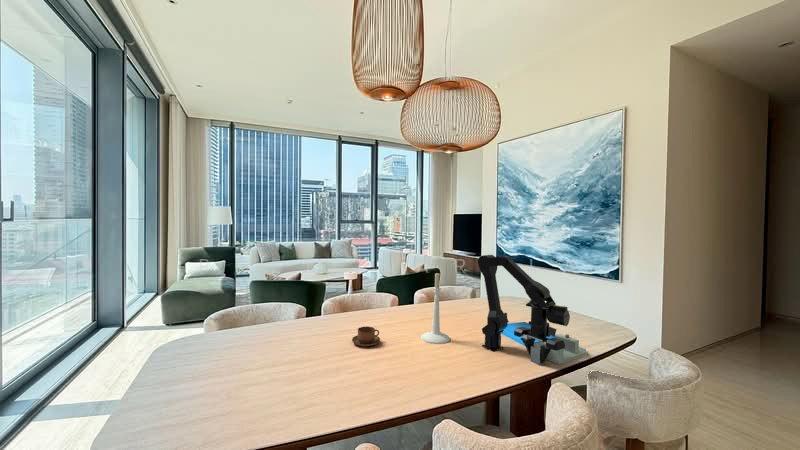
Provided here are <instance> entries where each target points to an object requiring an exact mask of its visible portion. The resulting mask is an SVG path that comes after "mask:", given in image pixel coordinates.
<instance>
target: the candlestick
mask: <svg viewBox="0 0 800 450" xmlns="http://www.w3.org/2000/svg"><path fill="white" fill-rule="evenodd" d="M440 275H441V274H440V273H438V272H437V273H434V287H433V293H434V296H433V297H434V298H433V299H434V300H433V310H432V311H433V313H432V324H431V331H427V332H425V333H423V334H422V335H421V336H420V338H421V340H422V341H423V342H425V343H427V344H428V343H429V344H433V345H442V344H443V345H444V344H447V343H449V342H450V339H451V338H450V336H449V335H448V334H447V333H444V332H442V331H440V330H441V328H440V322H441V321H440V296H439V295H440V293H441V290H442V288H440Z"/></svg>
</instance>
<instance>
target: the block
mask: <svg viewBox="0 0 800 450" xmlns="http://www.w3.org/2000/svg"><path fill="white" fill-rule="evenodd" d="M529 361H530V363H533V364H535V365H538V366H543V365H545V363H546V361H545V362H544V363H542V359H541V348H540V346H538V345H533V346H531V357H530V360H529Z"/></svg>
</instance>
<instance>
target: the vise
mask: <svg viewBox="0 0 800 450" xmlns="http://www.w3.org/2000/svg"><path fill="white" fill-rule="evenodd" d="M543 345H544V342H541V341H539V346H543ZM588 354H589V351H588V350H587V349H586V347H582V346H579V352H578V353H572V352H570V351H567V350H564V349H560V350H557V351H555V350H552V349H551V350H550V352H549V354H548V356H547V358H546V360H547V361H549V362H552V363H555V364H557V365H561V364H563V363H566V362H570V361H573V360H577V359H579V358H582V357H584V356H587V355H588Z"/></svg>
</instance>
